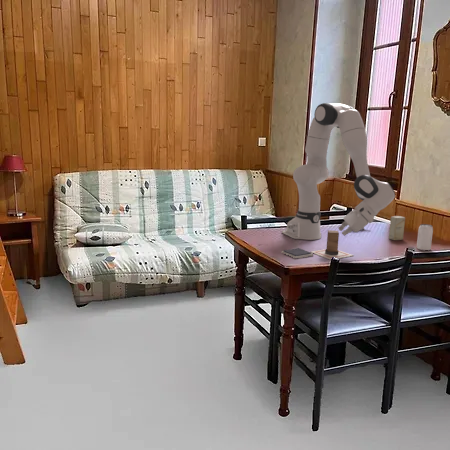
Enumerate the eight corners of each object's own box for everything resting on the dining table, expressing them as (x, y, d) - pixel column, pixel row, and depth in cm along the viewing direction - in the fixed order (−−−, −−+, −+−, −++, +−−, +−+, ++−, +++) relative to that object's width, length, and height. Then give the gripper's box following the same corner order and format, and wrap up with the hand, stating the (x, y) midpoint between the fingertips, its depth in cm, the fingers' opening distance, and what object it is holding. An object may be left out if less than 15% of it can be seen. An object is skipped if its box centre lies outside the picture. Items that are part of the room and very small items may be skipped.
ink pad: (281, 253, 220) (281, 250, 220) (298, 250, 225) (298, 247, 225) (295, 259, 211) (295, 255, 211) (313, 256, 217) (313, 252, 216)
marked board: (310, 252, 222) (310, 251, 222) (332, 248, 230) (332, 247, 229) (331, 260, 211) (331, 259, 211) (353, 256, 218) (353, 255, 218)
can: (416, 249, 231) (419, 226, 228) (416, 246, 237) (419, 223, 234) (430, 251, 229) (433, 227, 226) (430, 248, 235) (433, 224, 232)
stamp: (324, 251, 223) (325, 229, 221) (337, 251, 223) (338, 230, 221) (326, 254, 217) (327, 232, 215) (339, 255, 217) (341, 233, 215)
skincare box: (394, 240, 248) (396, 218, 246) (388, 238, 252) (390, 216, 250) (403, 239, 251) (405, 217, 248) (397, 237, 255) (399, 215, 252)
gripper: (355, 203, 224) (333, 222, 227) (364, 211, 205) (340, 232, 207) (364, 212, 225) (341, 231, 228) (374, 221, 205) (349, 242, 208)
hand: (341, 232), depth 217 cm, fingers open, 8 cm apart
